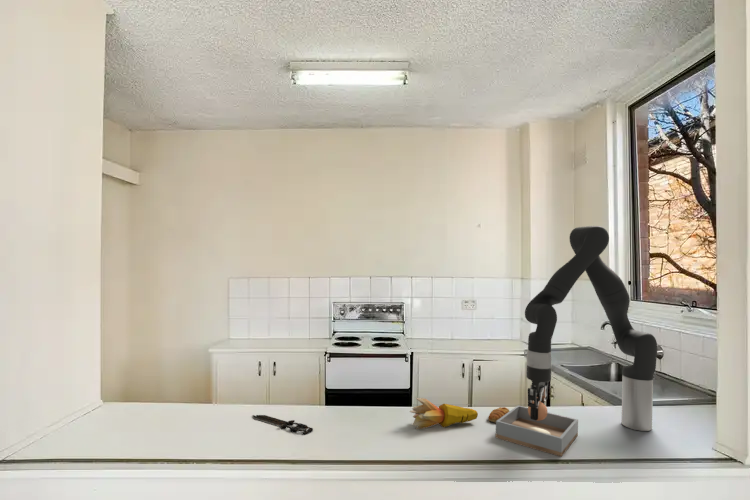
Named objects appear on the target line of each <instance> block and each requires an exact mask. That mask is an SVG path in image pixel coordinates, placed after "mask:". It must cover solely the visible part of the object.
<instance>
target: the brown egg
mask: <svg viewBox="0 0 750 500" xmlns="http://www.w3.org/2000/svg"><path fill="white" fill-rule="evenodd" d="M533 404H534V401H533ZM527 408H528V413H529V415H530V414H531V407H529V406H528V405H527ZM547 413H549V412H548V408H547V406H546V404H545V405H544V404H543V403H542V402H539V408H538V420H537V421H540V420H543V419H545V418H546V416H547Z"/></svg>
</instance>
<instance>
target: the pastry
mask: <svg viewBox="0 0 750 500" xmlns="http://www.w3.org/2000/svg"><path fill="white" fill-rule="evenodd" d="M509 411H510V409H509V408H507V407H505V406H503V407H498V408H494V409H492V411H491V412H490V413H489V415H488V416H487V418H488V421H489V422H493V423H495V424H496V421H497V420H498V419H500V418H501V417H502V416H504V415H505V414H507V413H508V412H509Z"/></svg>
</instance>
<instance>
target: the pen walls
mask: <svg viewBox="0 0 750 500" xmlns="http://www.w3.org/2000/svg"><path fill="white" fill-rule="evenodd" d="M518 418H522V419H526V420H530V421H534V422H538V423H542V424H546V425H550V426H553V427H557V428H561V429H565V430H566V431H565V432H564V433H563V434H562V435H561V436H560V437H557V436H554V435H550V434H546V433H542V432H538V431H535V430H531V429H527V428H523V427H520V426H516V425H512V423H513V422H514V421H516V420H517V419H518ZM577 432H578V433H579V419H577V418H572V417H569V416H564V415H560V414H557V413H551V412H548V413H547V416H546V418H545V419H543V420H540V421H537V420H533V419H531V418H530V415H529V413H528V406H527V407H526V406H522V405H519V404H518V405H515V406H514V407H513V408H512V409H511V410H509V412H508V413H507V414H505V415H504V416H502V417H501V418H500V419H498V420H497V421H496V423H495V435H496V434H498V435H502V436H505V437H509V438H512V439H516V440H519V441H523V442H526V443H530V444H533V445H537V446H540V447H544V448H547V449H551V450H554V451H558V452H561V453H562V451H563V450H564V449H565V447H566V446H567V445H568V444H569V442H570V441H571V440H572V439H573V437H574V436H575V435H576V434H577Z"/></svg>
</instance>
